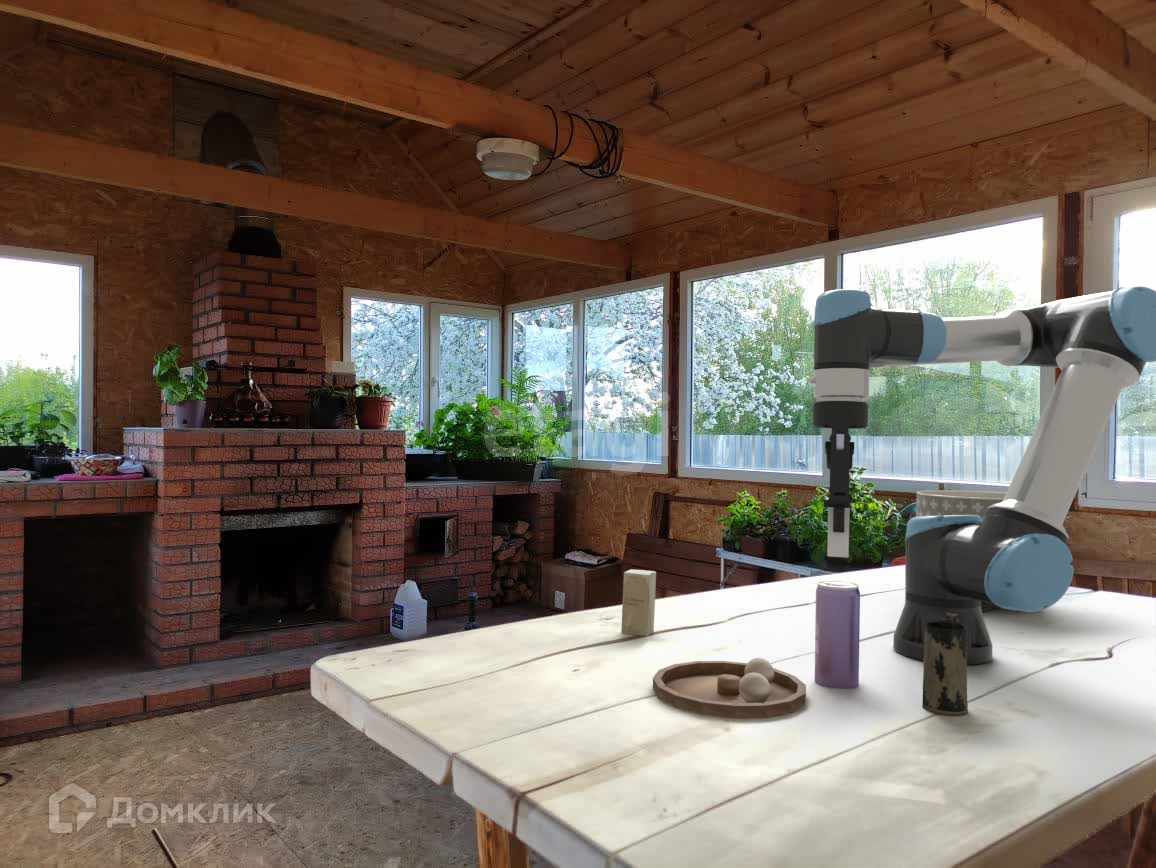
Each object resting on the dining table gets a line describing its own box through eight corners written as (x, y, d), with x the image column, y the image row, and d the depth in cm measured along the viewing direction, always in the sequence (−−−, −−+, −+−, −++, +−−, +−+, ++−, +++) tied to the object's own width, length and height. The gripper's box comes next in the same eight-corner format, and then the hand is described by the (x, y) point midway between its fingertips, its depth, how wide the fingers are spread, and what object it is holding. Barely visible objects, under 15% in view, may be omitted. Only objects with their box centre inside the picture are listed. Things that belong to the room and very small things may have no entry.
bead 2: (771, 701, 108) (771, 670, 108) (768, 710, 104) (769, 679, 104) (740, 697, 109) (740, 667, 109) (736, 707, 105) (737, 675, 105)
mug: (963, 719, 105) (964, 625, 105) (917, 710, 108) (918, 619, 108) (974, 703, 111) (976, 615, 111) (931, 695, 114) (932, 609, 114)
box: (620, 633, 147) (621, 571, 147) (628, 628, 151) (629, 568, 151) (648, 636, 145) (649, 574, 145) (655, 631, 149) (656, 570, 149)
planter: (1066, 616, 168) (1068, 499, 169) (943, 613, 169) (945, 497, 169) (1004, 592, 194) (1006, 491, 194) (897, 590, 194) (899, 489, 194)
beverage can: (861, 697, 113) (862, 588, 113) (816, 694, 114) (817, 586, 114) (855, 684, 119) (857, 581, 119) (812, 681, 120) (814, 579, 120)
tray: (807, 686, 118) (807, 665, 118) (802, 734, 98) (803, 709, 98) (669, 672, 123) (669, 652, 123) (639, 715, 104) (639, 691, 104)
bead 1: (774, 684, 115) (775, 656, 115) (772, 693, 111) (773, 663, 111) (745, 681, 116) (746, 653, 116) (742, 690, 112) (743, 660, 112)
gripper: (814, 404, 129) (811, 538, 129) (810, 395, 106) (807, 560, 106) (864, 404, 127) (862, 541, 127) (872, 396, 103) (869, 564, 103)
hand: (837, 550), depth 116 cm, fingers open, 13 cm apart
